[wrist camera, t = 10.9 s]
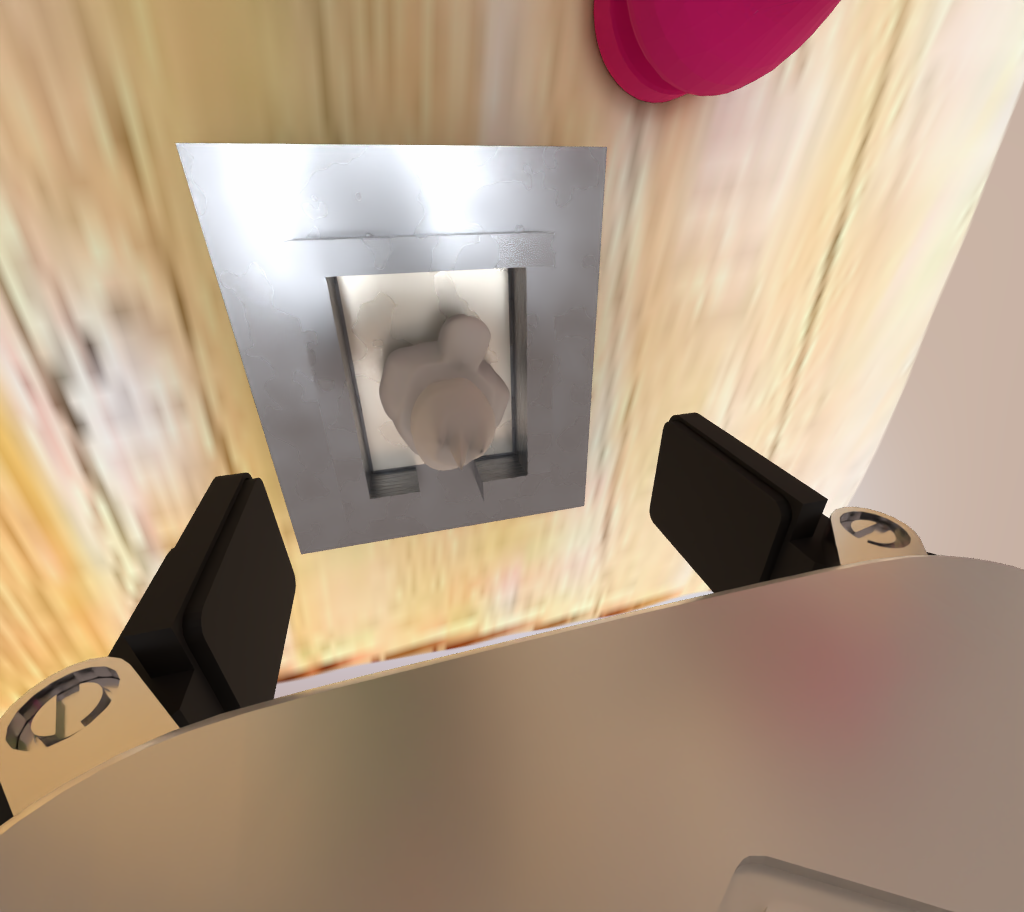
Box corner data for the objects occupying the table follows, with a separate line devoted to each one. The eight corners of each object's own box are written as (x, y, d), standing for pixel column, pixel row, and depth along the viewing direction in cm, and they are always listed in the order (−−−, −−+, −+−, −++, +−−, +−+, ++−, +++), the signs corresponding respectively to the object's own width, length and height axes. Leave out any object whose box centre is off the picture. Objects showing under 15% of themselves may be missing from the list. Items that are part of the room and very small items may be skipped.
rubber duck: (366, 422, 22) (360, 517, 15) (400, 282, 19) (412, 317, 12) (473, 446, 24) (512, 539, 17) (516, 321, 21) (582, 371, 14)
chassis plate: (195, 150, 17) (142, 130, 13) (588, 153, 21) (636, 137, 17) (306, 531, 26) (293, 587, 22) (572, 488, 29) (601, 530, 25)
